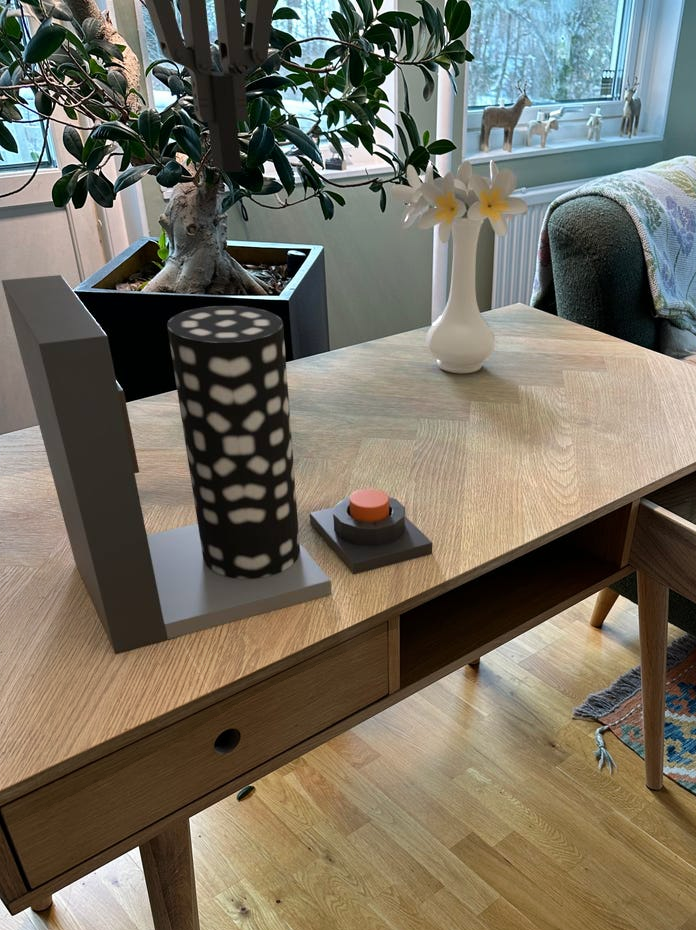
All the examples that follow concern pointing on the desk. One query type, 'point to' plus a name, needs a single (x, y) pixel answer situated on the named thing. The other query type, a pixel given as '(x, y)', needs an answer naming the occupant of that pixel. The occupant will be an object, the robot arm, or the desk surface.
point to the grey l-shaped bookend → (123, 488)
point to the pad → (370, 537)
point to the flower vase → (460, 251)
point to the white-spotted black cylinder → (237, 437)
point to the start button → (369, 505)
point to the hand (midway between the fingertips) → (227, 168)
